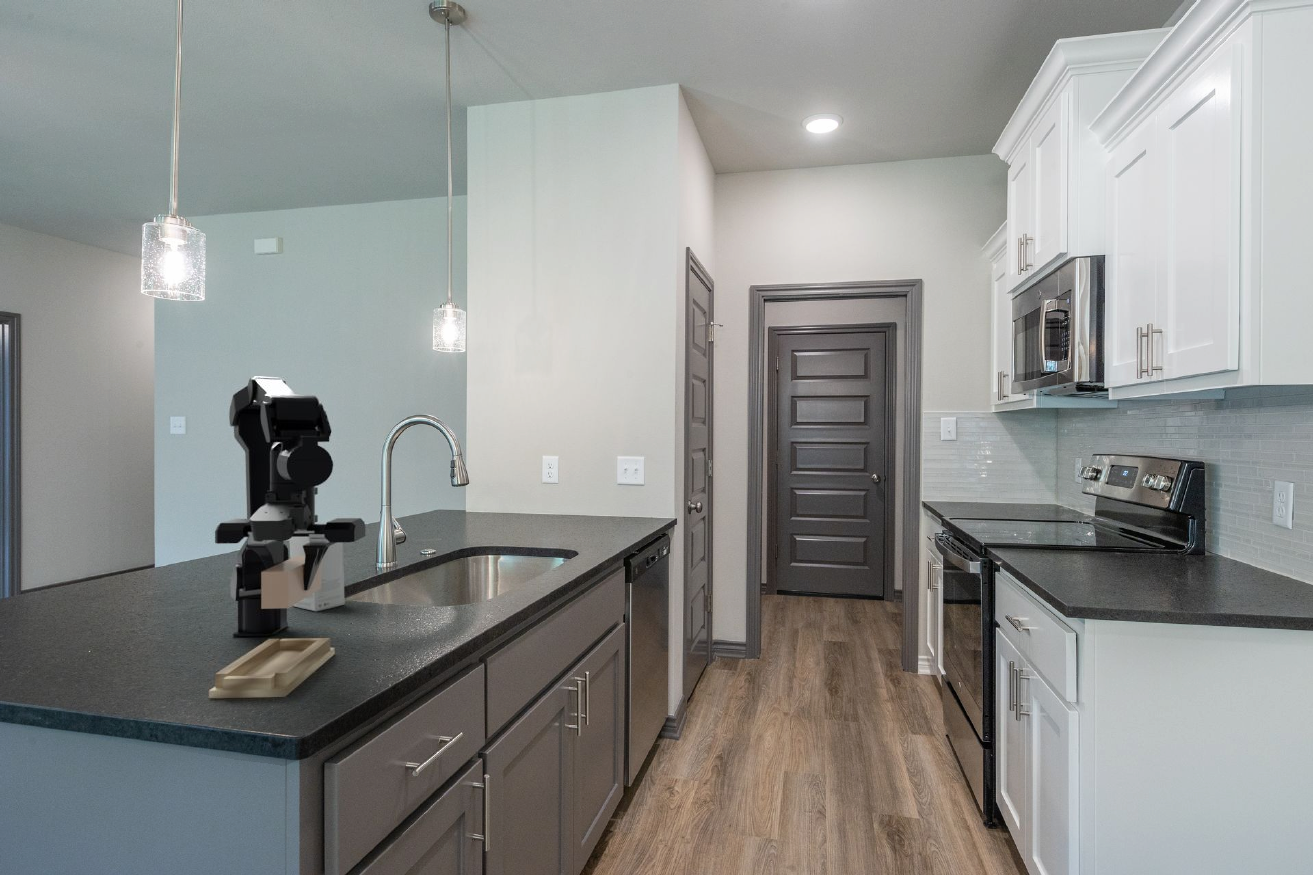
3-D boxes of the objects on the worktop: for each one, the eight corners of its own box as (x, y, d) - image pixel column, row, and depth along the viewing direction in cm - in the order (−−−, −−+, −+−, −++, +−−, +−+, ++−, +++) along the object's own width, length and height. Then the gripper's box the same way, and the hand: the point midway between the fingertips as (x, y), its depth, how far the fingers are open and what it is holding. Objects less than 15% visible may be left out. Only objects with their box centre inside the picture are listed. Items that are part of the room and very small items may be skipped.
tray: (208, 698, 91) (208, 676, 91) (270, 654, 108) (270, 636, 108) (285, 696, 92) (285, 675, 92) (334, 653, 109) (334, 635, 109)
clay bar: (261, 608, 95) (261, 571, 95) (297, 588, 107) (297, 555, 107) (288, 608, 96) (288, 571, 96) (321, 587, 108) (321, 555, 108)
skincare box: (345, 605, 137) (345, 526, 137) (313, 613, 132) (313, 530, 131) (320, 599, 142) (320, 522, 142) (288, 606, 136) (288, 526, 136)
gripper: (192, 487, 92) (193, 605, 92) (340, 487, 94) (340, 603, 94) (234, 480, 103) (235, 586, 104) (366, 480, 105) (366, 584, 105)
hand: (292, 590), depth 101 cm, fingers closed on clay bar, 3 cm apart
